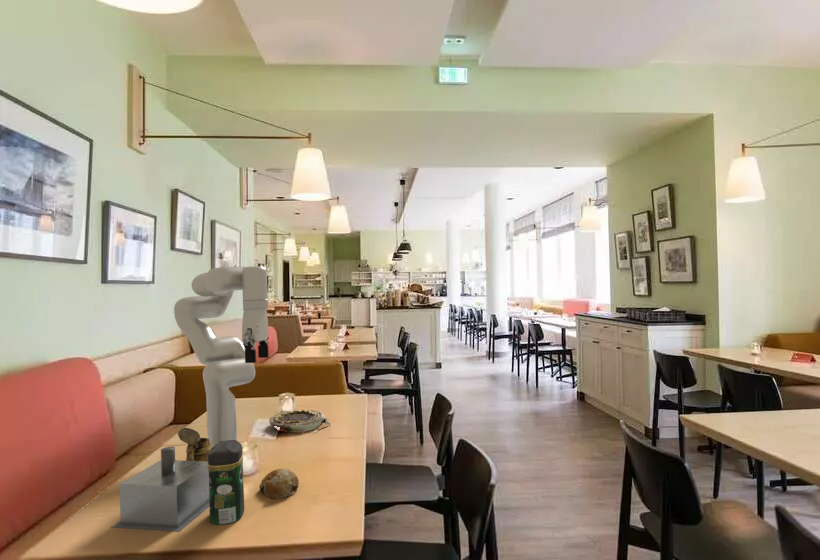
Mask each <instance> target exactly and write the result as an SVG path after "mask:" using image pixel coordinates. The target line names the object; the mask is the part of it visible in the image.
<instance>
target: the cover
mask: <svg viewBox="0 0 820 560" xmlns="http://www.w3.org/2000/svg"><path fill="white" fill-rule="evenodd" d="M209 502H210V500H209V471H208V462H205V461H186V460H180V459H179V460H177V459H176V447H175V446H166V447H163V448H161V449H160V460H159V461H157V462H155V463H153V464H152V465H150V466H148V467H146V468H144V469H142V470H141V471H139V472H137V473H135V474H134V475H132V476H131V477H129V478H127V479H125V480H124V481H122V482H120V483H119V508H120V510H119V511H120V515H119V517H120V521H121V525H133V526H149V527H164V528H179V527H180V526H181V525H182V524H183V523H185V522H186V521H187V520H188V519H190V518H191V517H192V516H193V515H194V514H196V513H197V512H198V511H199V510H200V509H202V508H203V507H204V506H205V505H207V504H208V503H209Z"/></svg>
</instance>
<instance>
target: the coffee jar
mask: <svg viewBox="0 0 820 560" xmlns="http://www.w3.org/2000/svg"><path fill="white" fill-rule="evenodd" d="M208 471H209V500H210V507H209V522H210V524H211V525H214V526H223V525H230V524H233V523H236V522H239V521H240V520H241V519H242V518H243V515H244V512H245V493H244V492H245V491H244V490H245V489H244V488H245V487H244V457H243V445H242V443H241V442H239V441H238V440H237V441H236V440H226V441H220V442H219V443H218V444H216V445H215V446H213V447H212V448H211V450H210V451H209V453H208Z"/></svg>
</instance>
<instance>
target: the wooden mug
mask: <svg viewBox="0 0 820 560" xmlns="http://www.w3.org/2000/svg"><path fill="white" fill-rule="evenodd" d="M177 436H178V438H179V440H181V442H183V443H185V444H187V446H186V449H185V452H186V453H185V454H186V459H185V461H205V462H208V453H209V451H210V450H211V443H210V440H209V439H208V437H201V435H200V433H199V432H198V431H196V430H194V429H192V428H188V427H184V428H182V429H179V431H178V432H177Z"/></svg>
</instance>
